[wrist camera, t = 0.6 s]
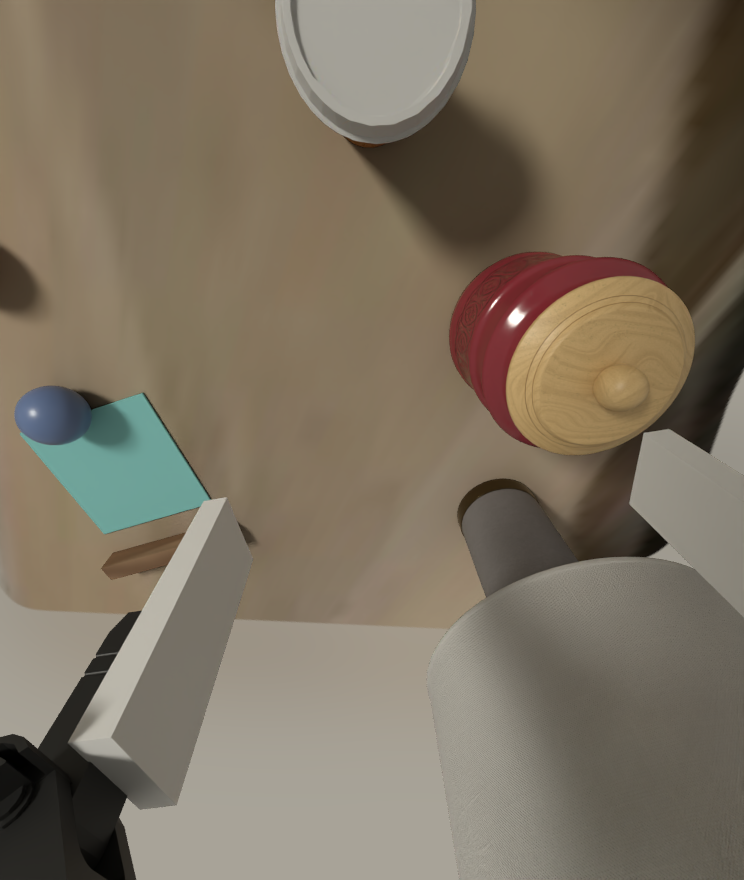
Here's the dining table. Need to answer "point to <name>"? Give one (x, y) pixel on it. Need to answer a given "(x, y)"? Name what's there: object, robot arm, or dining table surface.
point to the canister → (572, 348)
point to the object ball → (53, 415)
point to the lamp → (587, 710)
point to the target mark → (124, 467)
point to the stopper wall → (142, 557)
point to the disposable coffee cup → (375, 61)
